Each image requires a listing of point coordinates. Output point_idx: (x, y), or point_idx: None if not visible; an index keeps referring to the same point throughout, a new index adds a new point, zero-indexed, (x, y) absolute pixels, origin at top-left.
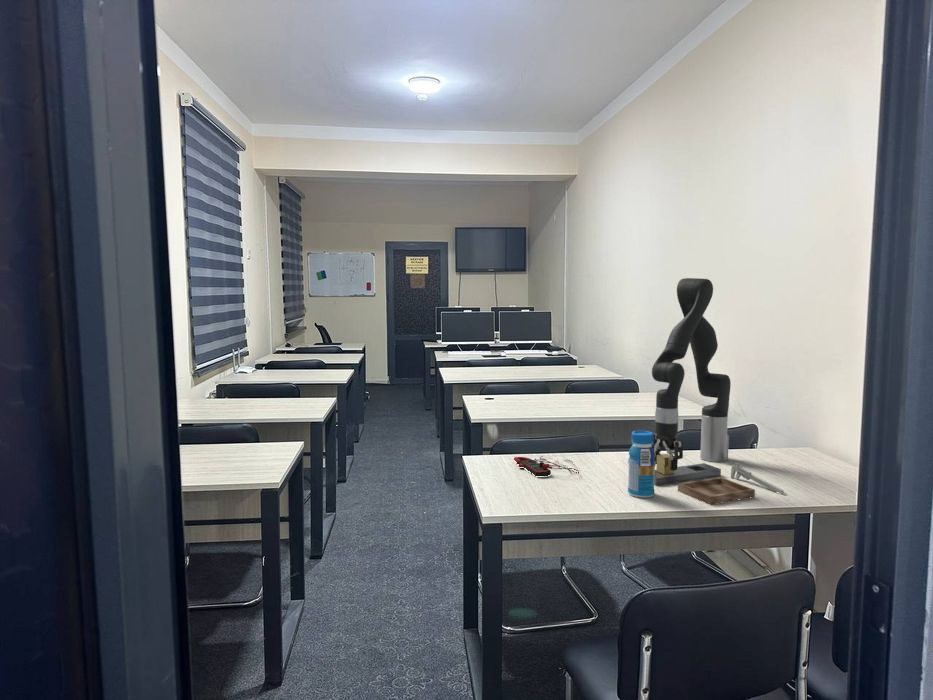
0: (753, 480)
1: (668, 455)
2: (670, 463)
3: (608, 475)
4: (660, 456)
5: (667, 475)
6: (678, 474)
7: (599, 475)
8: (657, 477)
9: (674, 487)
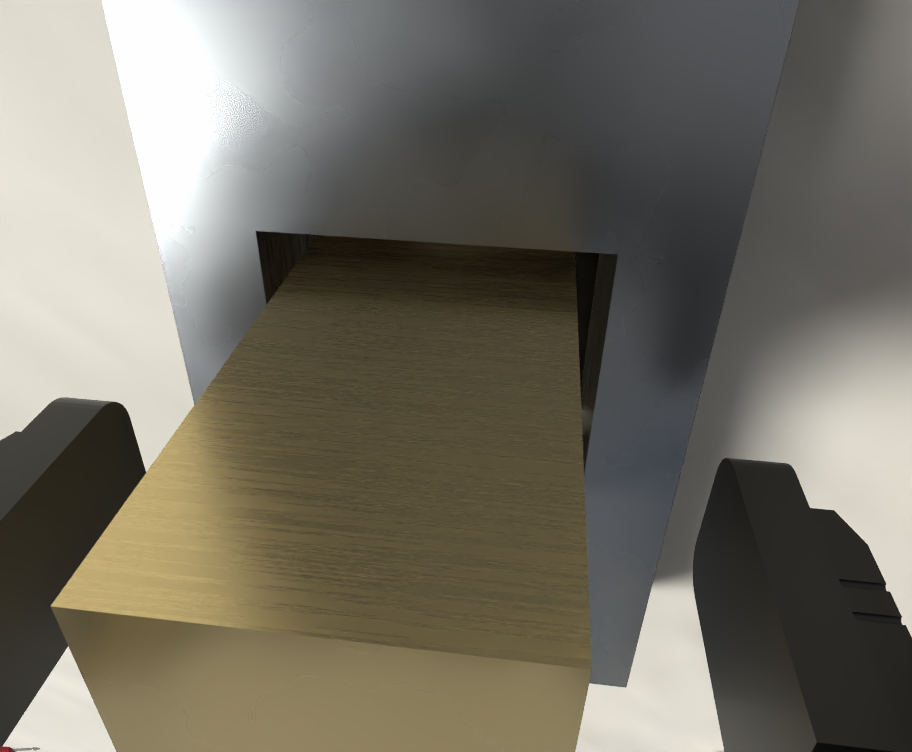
0: None
1: (329, 697)
2: (722, 732)
3: (81, 702)
4: None
5: (603, 470)
6: (685, 226)
7: (71, 747)
8: (599, 650)
9: (842, 453)
